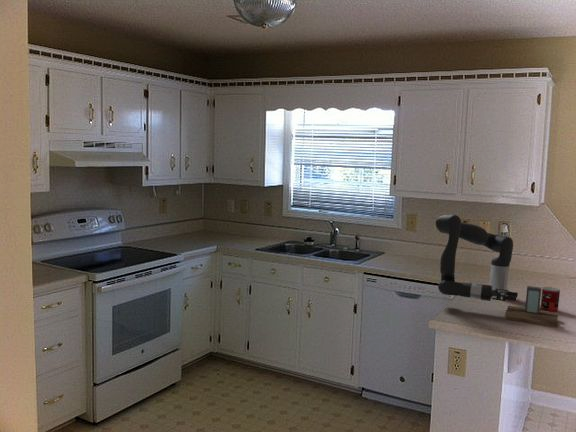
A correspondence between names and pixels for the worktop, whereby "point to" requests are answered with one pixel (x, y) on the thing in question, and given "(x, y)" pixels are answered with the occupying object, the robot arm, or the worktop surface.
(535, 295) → the grey rectangular block
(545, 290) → the canned food
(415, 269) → the worktop surface
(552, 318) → the brown grooved block
